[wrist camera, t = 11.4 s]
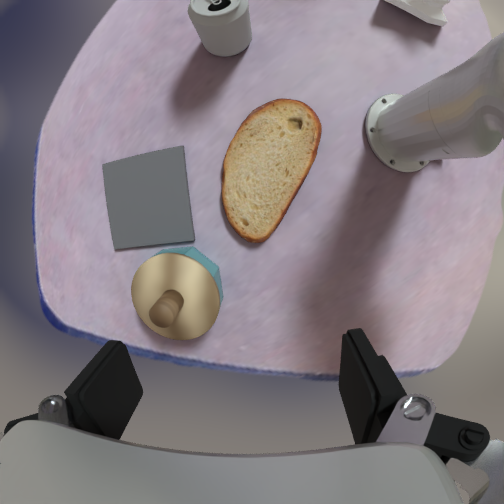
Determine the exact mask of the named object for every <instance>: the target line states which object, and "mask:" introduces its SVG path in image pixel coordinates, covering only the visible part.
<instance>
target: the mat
mask: <svg viewBox="0 0 504 504" xmlns="http://www.w3.org/2000/svg"><path fill="white" fill-rule="evenodd" d="M102 166H103V176H104V186H105V194H106V202H107V209H108V216H109V222H110V228H111V234H112V240H113V245H114V249H122V248H130V247H139V246H147V245H156V244H165V243H174V242H183V241H193V240H195V235H194V228H193V221H192V213H191V206H190V198H189V190H188V181H187V172H186V163H185V153H184V146H178V147H173V148H168V149H163V150H158V151H154V152H149V153H145V154H140V155H136V156H132V157H128V158H124V159H120V160H117V161H113V162H109V163H106V164H102Z"/></svg>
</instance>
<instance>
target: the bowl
mask: <svg viewBox="0 0 504 504" xmlns="http://www.w3.org/2000/svg"><path fill="white" fill-rule="evenodd" d="M162 253H179V254H184V255H186V256H189V257H191V258H193V259H195V260H196V261H198V262H199V263H201V264H202V265H203V266H204V267H205V268H206V269H207V270H208V271H209V272H210V274H211V275H212V276H213V278H214V280H215V282H216V284H217V286H218V289H219V294H220V305H221V302H222V300H223V291H222V285H221V278H220V271H219V267H218V266H217V265H216V264H214V263H213V262H212V261H211V260H209V259H208V258H207V257H206V256H204V255H203V254H202V253H201V252H199V251H198V250H197V249H195V248H194V247H193V246H192V247H182V248H172V249H163V250H161V251H160V252H158V253H157V254H156V255H158V254H162ZM154 256H155V255H154Z"/></svg>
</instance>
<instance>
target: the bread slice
mask: <svg viewBox="0 0 504 504" xmlns="http://www.w3.org/2000/svg"><path fill="white" fill-rule="evenodd" d="M320 138H321V123H320V121H319V118H318V116H317V115H316V113H315V112H314V111H313V110H312V109H311V108H310V107H309V106H308V105H306V104H305V103H303V102H301V101H297V100H291V99H276V100H273V101H270V102H268V103H266V104H264V105H262V106H260V107H258V108H256V109H255V110H253V111H252V112H251V113H250V114H249V115H248V117H247V118H246V119H245V120H244V121H243V122H242V124H241V125H240V127H239V129H238V130H237V132H236V134H235V136H234V138H233V139H232V141H231V142H230V145H229V147H228V150H227V152H226V155H225V158H224V163H223V167H224V171H223V176H222V202H223V206H224V210H225V213H226V216H227V219H228V221H229V223H230V225H231V226H232V227H233V229H234V230H235V231H236V232H237V233H238V234H239V235H240V236H241V237H242V238H244V239H245V240H246V241H248V242H251V243H260V242H264V241H265V240H266V239H268V238H269V237H270V235H271V233H272V232H273V231H274V230H275V229H276V228H277V227H278V225H279V224H280V222H281V220H282V219H283V217H284V216H285V214H286V212H287V210H288V208H289V206H290V204H291V202H292V201H293V199H294V198H295V196H296V194H297V192H298V190H299V189H300V187H301V185H302V184H303V182H304V180H305V178H306V177H307V175H308V172H309V170H310V168H311V166H312V164H313V162H314V160H315V158H316V155H317V149H318V145H319V142H320Z"/></svg>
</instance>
